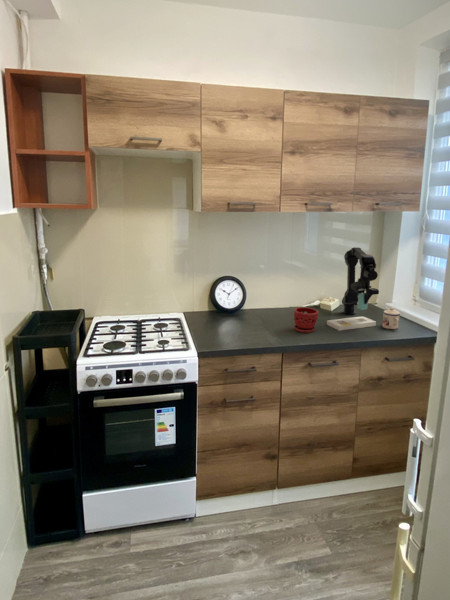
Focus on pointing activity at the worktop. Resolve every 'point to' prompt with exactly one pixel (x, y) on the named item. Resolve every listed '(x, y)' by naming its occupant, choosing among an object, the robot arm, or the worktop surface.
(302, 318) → the plant pot
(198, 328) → the worktop surface
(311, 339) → the worktop surface
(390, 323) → the teacup with lid
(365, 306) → the plug
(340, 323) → the panel
